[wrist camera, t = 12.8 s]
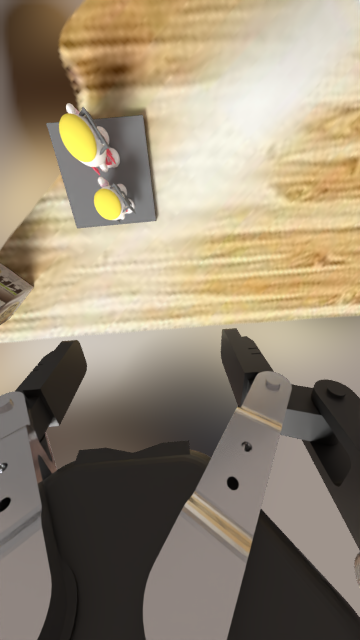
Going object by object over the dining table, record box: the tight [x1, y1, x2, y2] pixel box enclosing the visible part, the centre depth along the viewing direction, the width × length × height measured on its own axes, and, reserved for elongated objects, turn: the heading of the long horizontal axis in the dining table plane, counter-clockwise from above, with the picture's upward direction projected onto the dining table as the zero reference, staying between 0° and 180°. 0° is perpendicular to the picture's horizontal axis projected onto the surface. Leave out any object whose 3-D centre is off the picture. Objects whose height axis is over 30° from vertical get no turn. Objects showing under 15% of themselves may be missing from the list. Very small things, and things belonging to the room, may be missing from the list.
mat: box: [47, 115, 156, 228], centre depth 29 cm, size 12×12×1 cm
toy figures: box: [59, 103, 136, 223], centre depth 25 cm, size 12×4×8 cm, turn 16°
